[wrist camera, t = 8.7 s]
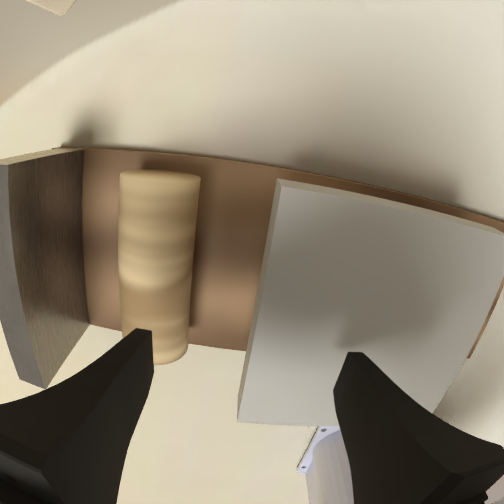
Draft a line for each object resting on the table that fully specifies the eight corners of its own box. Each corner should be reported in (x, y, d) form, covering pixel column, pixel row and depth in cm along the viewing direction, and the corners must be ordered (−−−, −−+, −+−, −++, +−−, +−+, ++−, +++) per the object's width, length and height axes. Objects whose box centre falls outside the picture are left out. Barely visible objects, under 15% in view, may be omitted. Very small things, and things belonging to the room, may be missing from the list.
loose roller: (194, 332, 20) (177, 372, 16) (138, 319, 20) (112, 354, 17) (209, 175, 17) (186, 186, 13) (140, 167, 17) (104, 176, 13)
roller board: (464, 351, 23) (507, 409, 16) (67, 310, 21) (13, 376, 14) (514, 225, 19) (583, 264, 11) (60, 147, 17) (-27, 164, 9)
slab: (417, 398, 18) (428, 418, 16) (238, 395, 17) (237, 421, 15) (493, 227, 13) (515, 239, 12) (276, 178, 13) (281, 186, 11)
